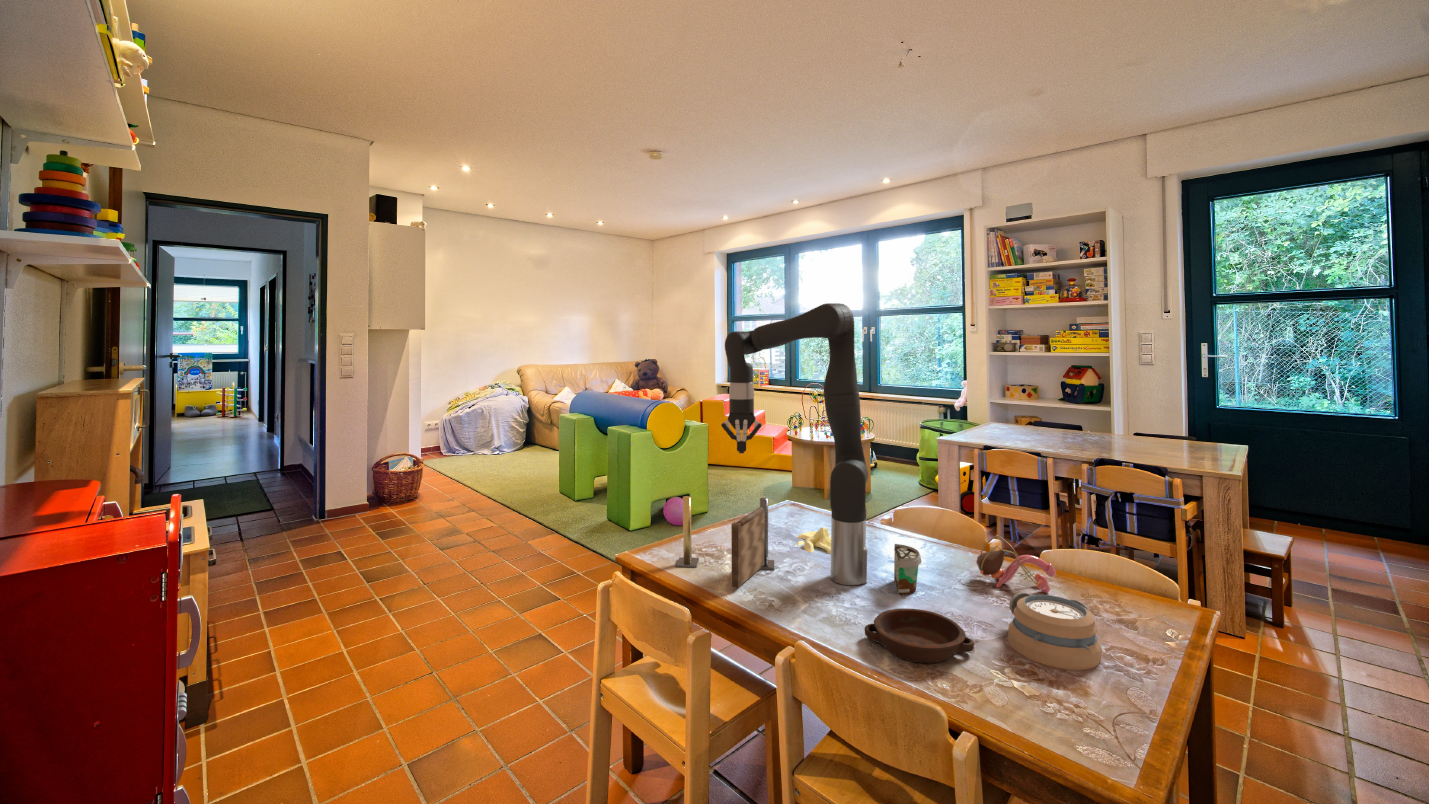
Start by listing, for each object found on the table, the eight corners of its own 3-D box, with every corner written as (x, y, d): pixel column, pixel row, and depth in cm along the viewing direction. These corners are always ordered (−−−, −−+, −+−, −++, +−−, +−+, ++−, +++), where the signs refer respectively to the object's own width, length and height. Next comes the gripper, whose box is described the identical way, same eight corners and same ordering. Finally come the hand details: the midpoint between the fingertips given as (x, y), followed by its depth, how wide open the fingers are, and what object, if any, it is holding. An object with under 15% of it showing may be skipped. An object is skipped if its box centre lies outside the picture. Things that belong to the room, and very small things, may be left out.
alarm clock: (1013, 617, 116) (1004, 574, 138) (1011, 660, 117) (1002, 611, 139) (1113, 632, 110) (1087, 585, 131) (1110, 678, 111) (1085, 624, 132)
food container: (924, 599, 145) (925, 561, 144) (898, 597, 146) (899, 559, 145) (917, 580, 157) (918, 544, 156) (893, 578, 158) (894, 543, 157)
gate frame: (774, 561, 171) (774, 496, 169) (774, 569, 165) (774, 501, 163) (679, 559, 174) (678, 494, 172) (676, 566, 168) (675, 499, 166)
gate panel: (758, 563, 167) (758, 505, 166) (765, 564, 166) (765, 506, 165) (731, 586, 151) (731, 523, 150) (738, 587, 150) (738, 524, 149)
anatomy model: (1068, 587, 143) (1019, 532, 147) (1015, 617, 149) (969, 565, 152) (1061, 570, 154) (1016, 520, 157) (1012, 600, 159) (969, 550, 162)
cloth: (801, 532, 199) (801, 515, 199) (855, 539, 192) (856, 521, 191) (781, 553, 179) (781, 534, 178) (841, 562, 171) (841, 542, 171)
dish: (980, 678, 111) (981, 654, 111) (863, 662, 117) (863, 639, 117) (967, 635, 128) (968, 613, 127) (865, 622, 134) (865, 601, 133)
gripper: (718, 398, 173) (719, 455, 175) (763, 398, 172) (763, 455, 173) (720, 396, 180) (721, 450, 182) (763, 396, 179) (763, 451, 181)
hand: (741, 452), depth 178 cm, fingers closed
